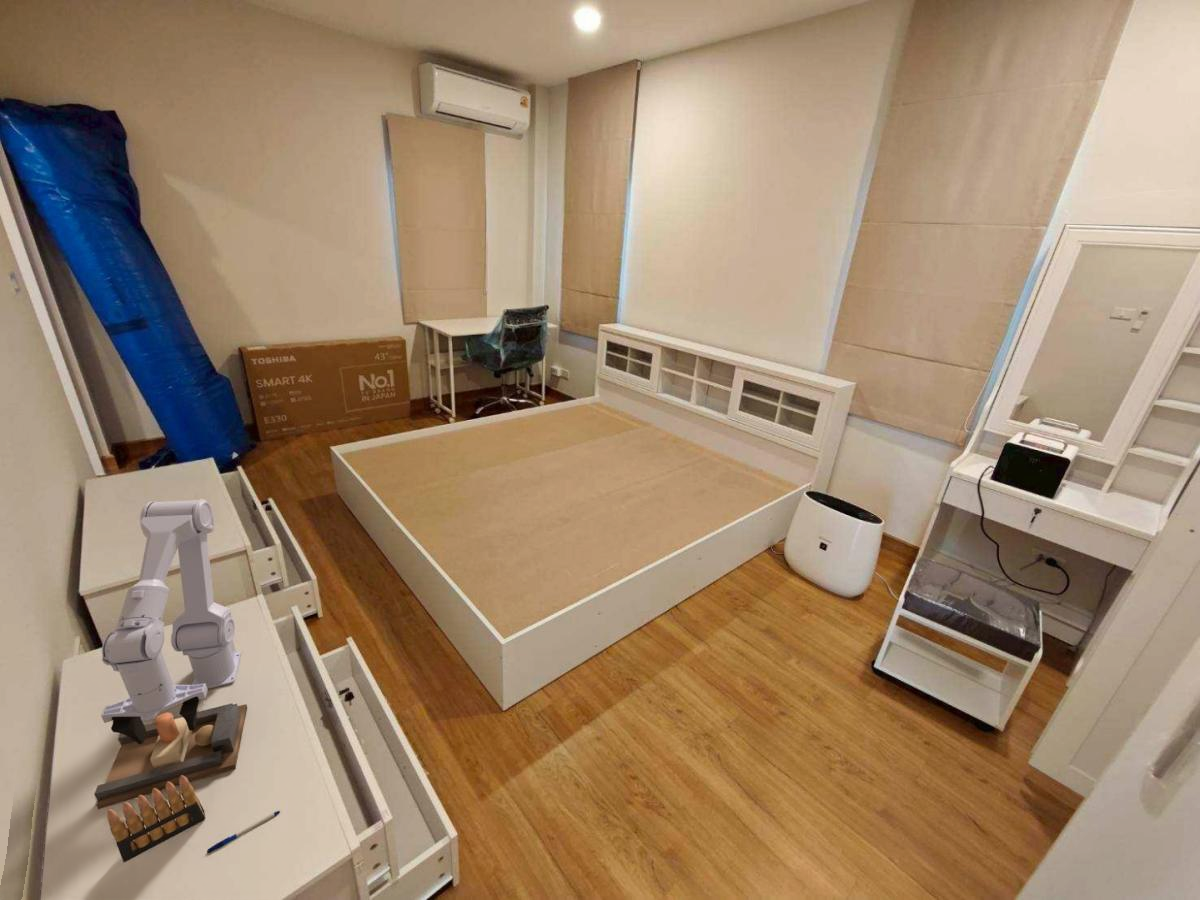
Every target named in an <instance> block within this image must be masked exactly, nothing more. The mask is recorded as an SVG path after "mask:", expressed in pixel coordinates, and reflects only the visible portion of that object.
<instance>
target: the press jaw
mask: <svg viewBox="0 0 1200 900" xmlns="http://www.w3.org/2000/svg"><path fill="white" fill-rule="evenodd" d="M174 718H175V717H174V715H173V714H172V712H164V713H162V714H159V715H157V717H156V718H154V722H153V723H154V724H155V726H156V729H157V731H158V734H159V736H158V739H157V742H156V744H155V747H154V750H153V753H152V756H151V759H150V760H151V763H152V765H153V767H154V769H158V768H161V767H165V766H168V765H172V764H175V763H179V762H182V761H184V757H185V754H186V751H187V747H188V744H189V740H190V737H191V733H192V731H190V730H189V729H188V726H187V722H186V720H185V719H184V718H183V717H181V718H178V719H174Z"/></svg>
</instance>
